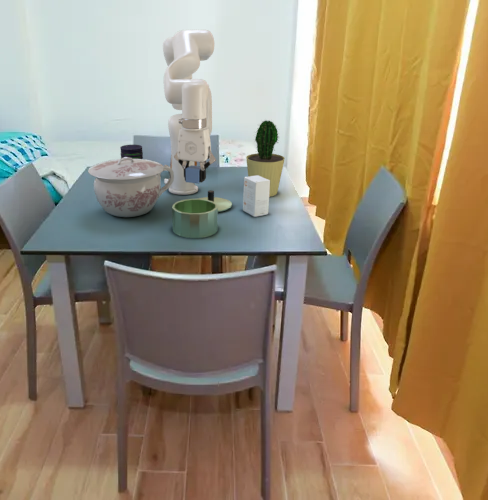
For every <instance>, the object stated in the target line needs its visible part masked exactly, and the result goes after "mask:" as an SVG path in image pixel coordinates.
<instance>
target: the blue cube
mask: <svg viewBox="0 0 488 500" xmlns="http://www.w3.org/2000/svg"><path fill="white" fill-rule="evenodd" d="M200 170H201V167H200V165H197V166H192V165H191V166H189V167H188V168H186V182H189V183H195V184H200V183H201V182H199V171H200Z"/></svg>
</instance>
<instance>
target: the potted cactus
mask: <svg viewBox="0 0 488 500" xmlns="http://www.w3.org/2000/svg"><path fill="white" fill-rule="evenodd" d="M254 133H256V134H254V136H255V137H254V139H253V140H254V141H255V143H256V150H257V151H256V152H257V153H251V154H248V155H246V156H245V158H246V168H247V177H249V176H256V175H259V176H261V177H263V178H266V179H268V180H270V191H269V198H270V197H274V196H276V195H277V194H278V192H279V186H280V182H281V178H282V173H283V169H284V164H285V158H286V157H285V156H283V155H282V154H277V153H274V151H276V150H275V145H276V144H279V142H278V141H280V140H279V135H280V133H279V131H278V128H277V125H276V124H275V123H274V121H272V120H270V119H269V120H267V119H265V120H261V123H258V127H257V129H256V132H255V131H254Z"/></svg>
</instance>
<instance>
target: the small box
mask: <svg viewBox="0 0 488 500" xmlns="http://www.w3.org/2000/svg"><path fill="white" fill-rule="evenodd" d="M269 191H270V180H268V179H266V178H263V177H261V176H259V175H256V176H249V177H248V176H244V177H243V196H242V197H243V198H242V211H243V212H245V213H247V214H248V215H250V216H252V217H253V218H255V217H261V216H265V215H269V209H270V208H269V207H270V206H269V205H270V197H269Z"/></svg>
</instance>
